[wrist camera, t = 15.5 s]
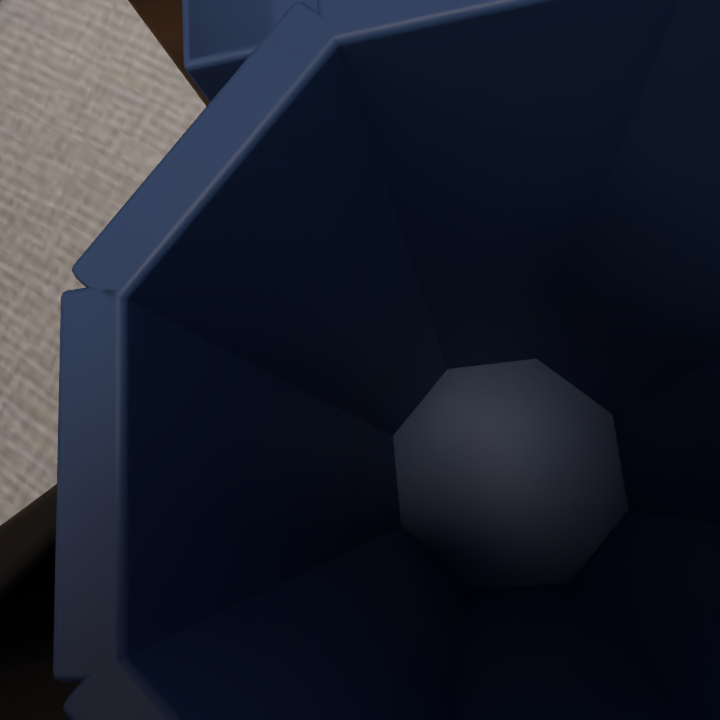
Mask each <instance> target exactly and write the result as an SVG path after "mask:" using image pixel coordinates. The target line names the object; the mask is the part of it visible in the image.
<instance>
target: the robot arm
mask: <svg viewBox="0 0 720 720" xmlns="http://www.w3.org/2000/svg"><path fill="white" fill-rule="evenodd" d="M56 512H57V484H56V485H55V486H54V487H52V488H51V489H50V490H48V491H47V492H45V493H44V494H43V495H41V496H40V497H39V498H37V499H36V500H35V501H33V502H32V503H31V504H29V505H28V506H27V507H25V508H24V509H23V510H21V511H20V512H19V513H17V514H16V515H15V516H13V517H12V518H11V519H9V520H8V521H6V522H5V523H4V524H2V525H1V526H0V720H70V718H69V717H68V716H67V715H66V714H65V712H64V709H63V706H64V704H65V702H66V700H67V698H68V697H69V696H70V695H71V694H72V692H73V691H74V690H75V689H76V687H77V686H78V685H79V684H80V683H81V681H78V682H62V681H58V680H56V679H55V678H54V675H53V652H54V605H55V559H56Z"/></svg>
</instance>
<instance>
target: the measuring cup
mask: <svg viewBox="0 0 720 720" xmlns="http://www.w3.org/2000/svg"><path fill="white" fill-rule="evenodd" d="M182 14H183V55H184V68H185V70H186V72H187V73H188V75H189V76H190V78H191V79H192V80H193V82H194V83H195V84H196V86H197V87H198V89H199V90H200V91H201V93H202V94H203V95H204V97H205V98H206V100H207V101H208V102H209V105H208V106H207V107H206V108H205V109H204V111H203V112H202V113H201V114H200V115H199V116H198V118H197V119H196V120H195V121H194V122H193V124H192V125H191V126H190V127H189V128H188V130H187V131H186V132H185V133H184V134H183V136H182V137H181V138H180V139H179V140H178V142H177V143H176V144H175V145H174V146H173V147H172V149H171V150H170V151H169V152H168V153H167V155H166V156H165V157H164V158H163V159H162V161H161V162H160V163H159V164H158V165H157V167H156V168H155V169H154V170H153V171H152V172H151V174H150V175H149V176H148V177H147V178H146V180H145V181H144V182H143V183H142V184H141V186H140V187H139V188H138V189H137V190H136V192H135V193H134V194H133V195H132V196H131V197H130V199H129V200H128V201H127V202H126V203H125V205H124V206H123V207H122V208H121V209H120V211H119V212H118V213H117V214H116V215H115V217H114V218H113V219H112V220H111V221H110V222H109V224H108V225H107V226H106V227H105V228H104V230H103V231H102V232H101V233H100V234H99V236H98V237H97V238H96V239H95V240H94V242H93V243H92V244H91V245H90V246H89V248H88V249H87V250H86V251H85V252H84V253H83V255H82V256H81V257H80V258H79V259H78V261H77V262H76V263H75V264H74V266H73V268H72V272H73V274H74V275H75V277H76V278H77V279H78V280H79V281H80V282H81V283H82V284H83V285H84V286H85V287H87V288H81V289H75V290H69V291H66V292H64V293H63V294H62V297H61V325H60V372H59V418H58V465H57V512H56V559H55V605H54V652H53V675H54V678H55V679H56V680H58V681H62V682H78V681H81V683H80V684H79V685H78V686H77V687H76V689H75V690H74V691H73V692H72V694H71V695H70V696H69V697H68V698H67V700H66V702H65V704H64V706H63V709H64V712H65V714H66V715H67V716H68V717H69V718H70V720H720V0H182Z"/></svg>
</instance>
